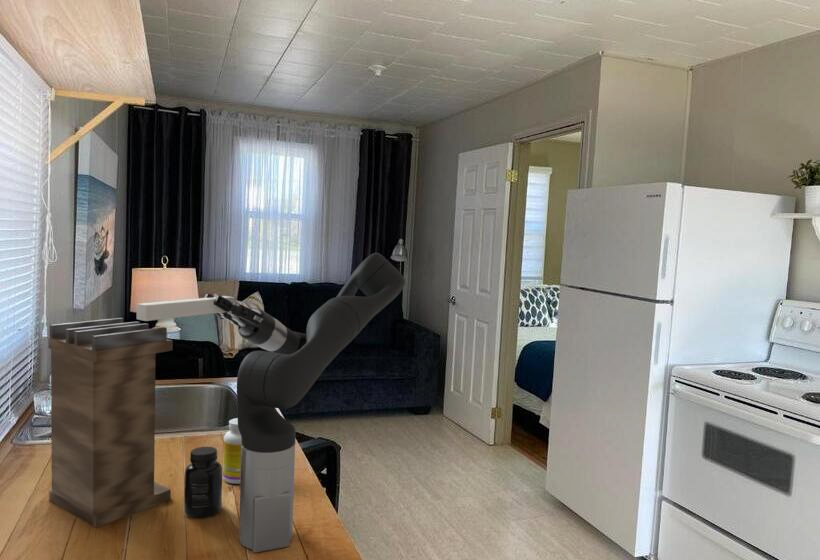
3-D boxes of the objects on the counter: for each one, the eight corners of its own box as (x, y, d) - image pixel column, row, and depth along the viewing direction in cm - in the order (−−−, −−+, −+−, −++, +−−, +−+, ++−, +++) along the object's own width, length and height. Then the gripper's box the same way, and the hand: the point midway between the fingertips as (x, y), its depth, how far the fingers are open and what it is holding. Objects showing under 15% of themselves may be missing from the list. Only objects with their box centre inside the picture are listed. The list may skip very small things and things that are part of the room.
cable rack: (124, 475, 131) (125, 316, 128) (172, 498, 122) (174, 327, 119) (49, 500, 119) (48, 324, 116) (96, 527, 109) (96, 337, 106)
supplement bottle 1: (229, 508, 119) (230, 448, 118) (204, 523, 113) (205, 460, 112) (201, 500, 122) (202, 441, 121) (175, 514, 116) (176, 452, 114)
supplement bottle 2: (245, 486, 129) (247, 427, 128) (217, 482, 130) (218, 424, 129) (259, 474, 135) (261, 417, 134) (232, 470, 137) (233, 414, 136)
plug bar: (224, 309, 136) (225, 295, 135) (234, 311, 134) (234, 297, 134) (136, 319, 118) (136, 303, 118) (145, 321, 116) (145, 305, 116)
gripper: (249, 312, 149) (197, 280, 135) (290, 319, 141) (240, 285, 128) (236, 340, 146) (182, 310, 133) (278, 349, 138) (224, 318, 125)
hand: (211, 298), depth 130 cm, fingers closed on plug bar, 3 cm apart
